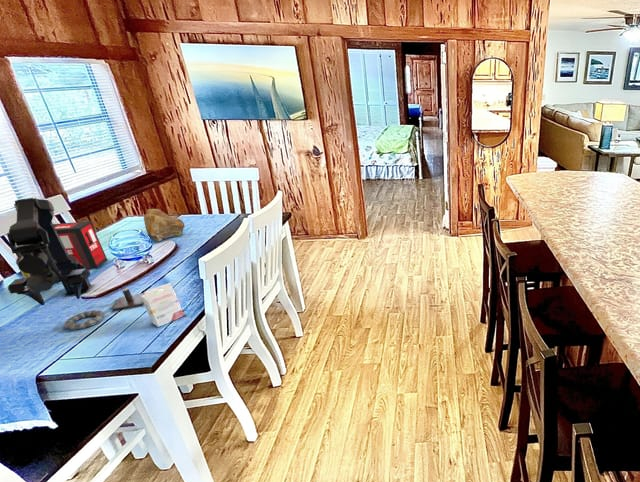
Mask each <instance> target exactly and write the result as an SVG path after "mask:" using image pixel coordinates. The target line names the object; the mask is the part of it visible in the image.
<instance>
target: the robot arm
mask: <svg viewBox="0 0 640 482" xmlns="http://www.w3.org/2000/svg"><path fill="white" fill-rule="evenodd" d="M13 206H14V208H15V211H16V222H15V223H13V224H11V225H10V227H9V230H8V232H7V233H6V236H7V240H8V243H9V246H10V250H11V253H12V254H15V253H21V256H22V257H21V259H20V261H19V263H18V266H17V267H18V269H20V270H21V271H22V272H25V273H28V274H30V277H27V278H24V277H22V278H15V279H14V280H12V282H10V283H9V284H8V286H7V291H8V292H9V294H16V295H18V296H19V295H24V296H27V297H29V298H30V299H32V300H33V301H35V303H36V302H37V303H38V305H40V306H45V304H46V303H45V300H44V297H43V295H42V293H41V292H42V291H46V292H47V291H49V290H51V289H52V288H53V286H54V285H58V284H59V283H61V284H62V286H63V288H64V290H65V292H66V293H65V296H67V297H68V296H74V295H75V297H76V299H77V300H80V299H81V294H84V293H85V294H86V293H88V292H89V290H90V289H91V287H92V286H93V285H92V284H91V282H90V280H89V277H90V276H91V273H90V270H87V269H86V268H85V266H83V265H82V264H81V263H79V262H78V261H77V259H76V258H75V257H73V256H71V255H69V254H68V253H67V251H66V249H65V247H64V245H63V243H62V241H61V239H60V237H59V235H58V233H57V231H56V229H55V227H54V225H53V224H54V222H53V219H54V214H55V207H54V204H53V203H52V202H51V201H50V200H48V199H41V198H37V197H27V198H19V199H17V200H14V203H13ZM16 245H17V246H21V247H16ZM22 245H26V246H22ZM20 270H19V271H20ZM21 271H20V272H21Z"/></svg>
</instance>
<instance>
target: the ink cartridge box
mask: <svg viewBox="0 0 640 482" xmlns="http://www.w3.org/2000/svg"><path fill="white" fill-rule="evenodd" d="M143 293H144V294H145V295H143V296H141V297H142V300H143V302H144V303H143V305H144V307H145V309H146V312H147V314H148V316H149V318H150V321H151V323H152V324H153V325H154V326H156V327H157V328H160V327H162V326H165V325H167V324H169V323H171V322H174V321H176V320H179V319H180V318H183V317H185V316H184V315H185V314H184V312H183V309H182V307H181V304H180V301H179V299H178V297H177V293H176V291H175V289H174V288H173V285H172V283H171V282H167V283H165V284H161V285H159V286H156V287H154V288H152V289H148V290H145V291H144V292H143Z"/></svg>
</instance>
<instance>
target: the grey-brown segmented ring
mask: <svg viewBox="0 0 640 482" xmlns="http://www.w3.org/2000/svg"><path fill="white" fill-rule="evenodd" d="M105 316H106V314H105V313H104V312H103V311H102V310H97V309H95V310H94V309H93V310H88V311H87V310H86V311H83V312H80V313H77V314H74V315H72V316H70V317H69V318H68V319H67V320H66V321H65V322H64V324H63V326H64V327H65V329H67V330H68V331H69V330H72V331H78V330H82V329H87V328H89V327H93V326H95V325H97V324H99V323H100V322H101V321H103V320H104V318H105ZM89 317H93V318H92V319H90V320H87V321H85V322H80V323H76V322H78V321H79V320H82V319H85V318H89Z"/></svg>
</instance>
